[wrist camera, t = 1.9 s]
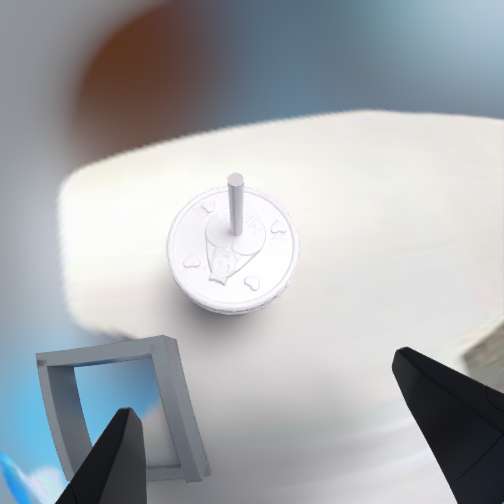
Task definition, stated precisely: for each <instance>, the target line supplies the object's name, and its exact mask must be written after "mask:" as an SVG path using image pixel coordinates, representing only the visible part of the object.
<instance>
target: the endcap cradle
mask: <svg viewBox="0 0 504 504" xmlns="http://www.w3.org/2000/svg"><path fill="white" fill-rule="evenodd" d="M149 357H152V360H153V364H154V369H155V374H156V378H157V383H158V387H159V391H160V395H161V399H162V403H163V407H164V411H165V415H166V419H167V422H168V426H169V429H170V433H171V436H172V440H173V443H174V446H175V450H176V453H177V456H178V459H179V462H180V465H179V466H168V467H152V468H146V481H154V480H172V479H184V478H185V480H186V483H187V482H197V481H202V478H203V476H210V475H211V470H210V467H209V464H208V461H207V458H206V454H205V451H204V448H203V444H202V441H201V438H200V434H199V431H198V427H197V424H196V420H195V416H194V413H193V409H192V405H191V401H190V397H189V393H188V389H187V385H186V381H185V377H184V373H183V368H182V364H181V359H180V355H179V350H178V346H177V341H176V339H173V338H170V337H167V336H164V335H160V336H155V337H149V338H144V339H138V340H132V341H126V342H119V343H113V344H107V345H100V346H94V347H86V348H78V349H70V350H62V351H54V352H45V353H36V361H37V368H38V375H39V381H40V386H41V392H42V396H43V401H44V406H45V411H46V415H47V419H48V423H49V427H50V430H51V434H52V438H53V441H54V445H55V448H56V451H57V454H58V457H59V460H60V463H61V466H62V469H63V472H64V474H65V477H66V480H67V481H71V480H72V478H73V477H74V475H75V473H76V472H77V470H78V469H79V467H80V466H81V464H82V463H83V461H84V460H85V458H86V457H87V455H88V454H89V452H90V451H91V449H92V444H91V441H90V438H89V434H88V431H87V427H86V423H85V419H84V415H83V412H82V407H81V403H80V398H79V394H78V389H77V384H76V379H75V374H74V367H81V366H91V365H99V364H107V363H115V362H122V361H129V360H136V359H142V358H149Z"/></svg>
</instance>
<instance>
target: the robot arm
mask: <svg viewBox="0 0 504 504" xmlns="http://www.w3.org/2000/svg"><path fill="white" fill-rule="evenodd" d="M392 371H393V374H394V376H395V378H396V380H397V383H398V385H399V387H400V390H401V392H402V395H403V397H404V399H405V402H406V404H407V406H408V408H409V410H410V411H411V413H412V415H413V417H414V419H415V420H416V422H417V424H418V426H419V428H420V430H421V431H422V433H423V435H424V437H425V439H426V441H427V443H428V444H429V446H430V448H431V450H432V452H433V454H434V456H435V458H436V460H437V462H438V464H439V466H440V468H441V470H442V472H443V474H444V476H445V478H446V480H447V482H448V484H449V486H450V488H451V490H452V492H453V495H454V497H455V499H456V501H457V503H458V504H504V393H501V392H499V391H497V390H495V389H492V388H490V387H488V386H486V385H485V386H484V384H482V383H480V382H478V381H476V380H474V379H472V378H470V377H468V376H466V375H464V374H462V373H459V372H457V371H455V370H453V369H451V368H449V367H447V366H445V365H443V364H441V363H439V362H437V361H435V360H433V359H431V358H429V357H427V356H425V355H423V354H421V353H419V352H417V351H415V350H413V349H411V348H409V347H403V348H400V349H398V350H397V351H396V352H395V355H394V359H393V363H392ZM55 504H147V495H146V458H145V449H144V439H143V427H142V423H141V420H140V419H139V418H138V416H137V415H136V413H135V412H134V410H133V409H132V408H130V407H128V408H120V409H119V410H118V411H117V412H116V414H115V415H114V417H113V418H112V420H111V421H110V423H109V424H108V426H107V427H106V429H105V430H104V432H103V433H102V434H101V436H100V437H99V439H98V440H97V442H96V443H95V445H94V446H93V448H92V449H91V451H90V452H89V454H88V455H87V457H86V458H85V460H84V461H83V463H82V464H81V466H80V467H79V469H78V470H77V472H76V473H75V475H74V477H73V478H72V480H71V481H70V483H69V484H68V486H67V487H66V489H65V490H64V492H63V493H62V494H61V496H60V497H59V499H58V500H57V501H56V503H55Z"/></svg>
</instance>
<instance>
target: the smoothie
mask: <svg viewBox="0 0 504 504" xmlns="http://www.w3.org/2000/svg"><path fill="white" fill-rule="evenodd" d="M227 180H228V186H223V187H218V188H214V189H211V190H208V191H206V192H204V193H201V194H200V195H198V196H196V197H195V198H193V199H192V200H191V201H189V202H188V203H187V204H186V205H185V206H184V207H183V208H182V209H181V210H180V212H179V213H178V214H177V216H176V217H175V219H174V221H173V223H172V225H171V227H170V230H169V233H168V238H167V245H166V252H167V260H168V264H169V267H170V270H171V272H172V275H173V278H174V279H175V281H176V283H177V284H178V286H179V288H180V289H181V291H182V292H183V293H184V294H185V295H186V296H187V297H188V298H189V299H190V300H192V301H193V302H194V303H195V304H197V305H199V306H201V307H203V308H205V309H207V310H209V311H212V312H216V313H221V314H226V315H236V314H247V313H250V312H253V311H256V310H259V309H262V308H264V307H266V306H267V305H269V304H270V303H272V302H273V301H275V300H276V299H278V298H279V297H280V295H281V294H282V293H283V292H284V291H285V290H286V288H287V287H288V286H289V285H290V282H291V280H292V278H293V276H294V274H295V271H296V268H297V265H298V261H299V256H300V239H299V234H298V230H297V227H296V225H295V222H294V221H293V219H292V217H291V215H290V214H289V212H288V211H287V210H286V209H285V208H284V207H283V206H282V205H281V204H280V203H279V202H278V201H277V200H276V199H274V198H273V197H271V196H270V195H268V194H266V193H264V192H262V191H259V190H257V189H253V188H250V187H244V177H243V175H242V174H240V173H232V174H230V175H229V176H228V179H227Z"/></svg>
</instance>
